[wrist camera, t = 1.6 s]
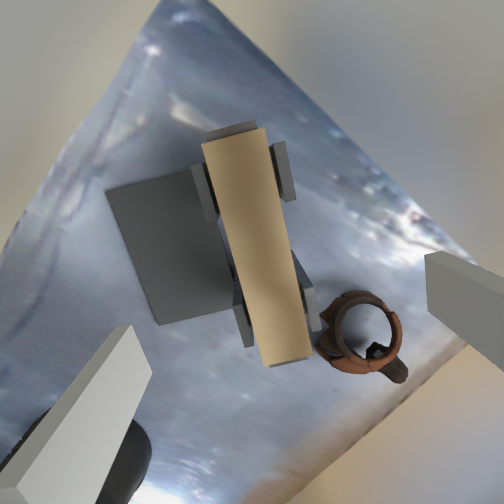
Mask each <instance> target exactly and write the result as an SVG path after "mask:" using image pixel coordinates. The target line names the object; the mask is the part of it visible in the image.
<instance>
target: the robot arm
mask: <svg viewBox="0 0 504 504" xmlns="http://www.w3.org/2000/svg"><path fill="white" fill-rule="evenodd" d="M424 258H425V274H426V290H427V306H428V311H429V312H430V313H431V314H432V315H434V316H435V317H436V318H437V319H439V320H440V321H441V322H442V323H444V324H445V325H446V326H447V327H449V328H450V329H451V330H452V331H454V332H455V333H456V334H457V335H459V336H460V337H461V338H462V339H464V340H465V341H466V342H467V343H469V344H470V345H471V346H472V347H474V348H475V349H476V350H477V351H479V352H480V353H481V354H482V355H483V356H485V357H486V358H487V359H488V360H490V361H491V362H492V363H493V364H495V365H496V366H497V367H499V368H500V369H501V370H502V371H503V372H504V278H503V277H501V276H499V275H497V274H494V273H492V272H490V271H487V270H485V269H483V268H481V267H478V266H476V265H474V264H472V263H469V262H467V261H465V260H462V259H460V258H458V257H456V256H453V255H451V254H449V253H447V252H444V251H439V252H435V253H431V254H426V255H424ZM151 375H152V371H151V369H150V366H149V364H148V362H147V359H146V357H145V355H144V352H143V350H142V348H141V345H140V343H139V341H138V339H137V336H136V334H135V332H134V329H133V327H132V325H131V324H129V325H125V326H121V327H116V328H114V330H113V331H112V332H111V334H110V335H109V336H108V337H107V339H106V340H105V341H104V342H103V344H102V345H101V346H100V347H99V349H98V350H97V351H96V352H95V354H94V355H93V356H92V358H91V359H90V360H89V361H88V363H87V364H86V365H85V366H84V368H83V369H82V370H81V371H80V373H79V374H78V375H77V377H76V378H75V379H74V380H73V382H72V383H71V384H70V385H69V387H68V388H67V389H66V390H65V392H64V393H63V394H62V395H61V397H60V398H59V399H58V401H57V402H56V403H55V404H54V406H53V407H51V408H50V409H49V410H48V411H46V412H45V413H44V414H43V415H42V416H41V417H40V418H39V419H37V420H36V421H35V422H34V423H33V425H32V426H31V427H30V428H29V430H28V431H27V432H26V433H25V434H24V436H23V437H22V440H20V441H19V442H18V443H17V444H16V446H15V447H14V448H13V449H12V450H11V451H12V452H11V454H8V455H7V457H6V458H5V459H4V460H3V462H2V463H1V464H0V504H128V502H129V501H130V499H131V497H132V496H133V494H134V492H135V491H136V490H137V489H138V488H139V486H140V485H141V483H142V482H143V480H144V478H145V475H146V472H147V469H148V466H149V463H150V460H151V454H152V449H151V444H150V441H149V438H148V436H147V434H146V433H145V431H144V430H143V429H142V428H141V427H140V426H139V425H138V424H137V423H136V422H135V421H134V420H132V418H133V416H134V414H135V411H136V409H137V407H138V405H139V402H140V400H141V398H142V396H143V393H144V391H145V389H146V386H147V384H148V382H149V380H150V377H151Z"/></svg>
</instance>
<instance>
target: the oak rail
mask: <svg viewBox="0 0 504 504" xmlns="http://www.w3.org/2000/svg"><path fill="white" fill-rule="evenodd" d="M206 137H207V141H208V142H207V143H203V144H201V146H202V149H203V153H204V156H205V160H206V163H207V167H208V170H209V174H210V177H211V181H212V184H213V188H214V192H215V195H216V199H217V202H218V206H219V209H220V213H221V216H222V220H223V223H224V227H225V230H226V234H227V237H228V241H229V245H230V248H231V252H232V255H233V259H234V262H235V266H236V269H237V273H238V276H239V280H240V283H241V287H242V291H243V294H244V298H245V301H246V305H247V308H248V312H249V315H250V319H251V322H252V326H253V329H254V333H255V336H256V340H257V344H258V347H259V351H260V354H261V358H262V361H263V365H264V366H267V365H269V366H270V368H271V367H276V366H280V365H285V364H289V363H293V362H298V361H302V360H307V359H308V356H311V355H313V351H312V347H311V342H310V338H309V333H308V328H307V324H306V319H305V314H304V310H303V305H302V300H301V296H300V291H299V287H298V282H297V277H296V273H295V268H294V263H293V259H292V254H291V249H290V245H289V240H288V235H287V231H286V226H285V222H284V217H283V212H282V208H281V203H280V198H279V194H278V189H277V184H276V180H275V175H274V170H273V166H272V161H271V157H270V152H269V147H268V143H267V138H266V133H265V129H264V127H263V128H260V129H257V125H256V121H255V120H252V121H248V122H244V123H240V124H237V125H233V126H229V127H225V128H222V129H218V130H214V131H210V132H207V133H206Z"/></svg>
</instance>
